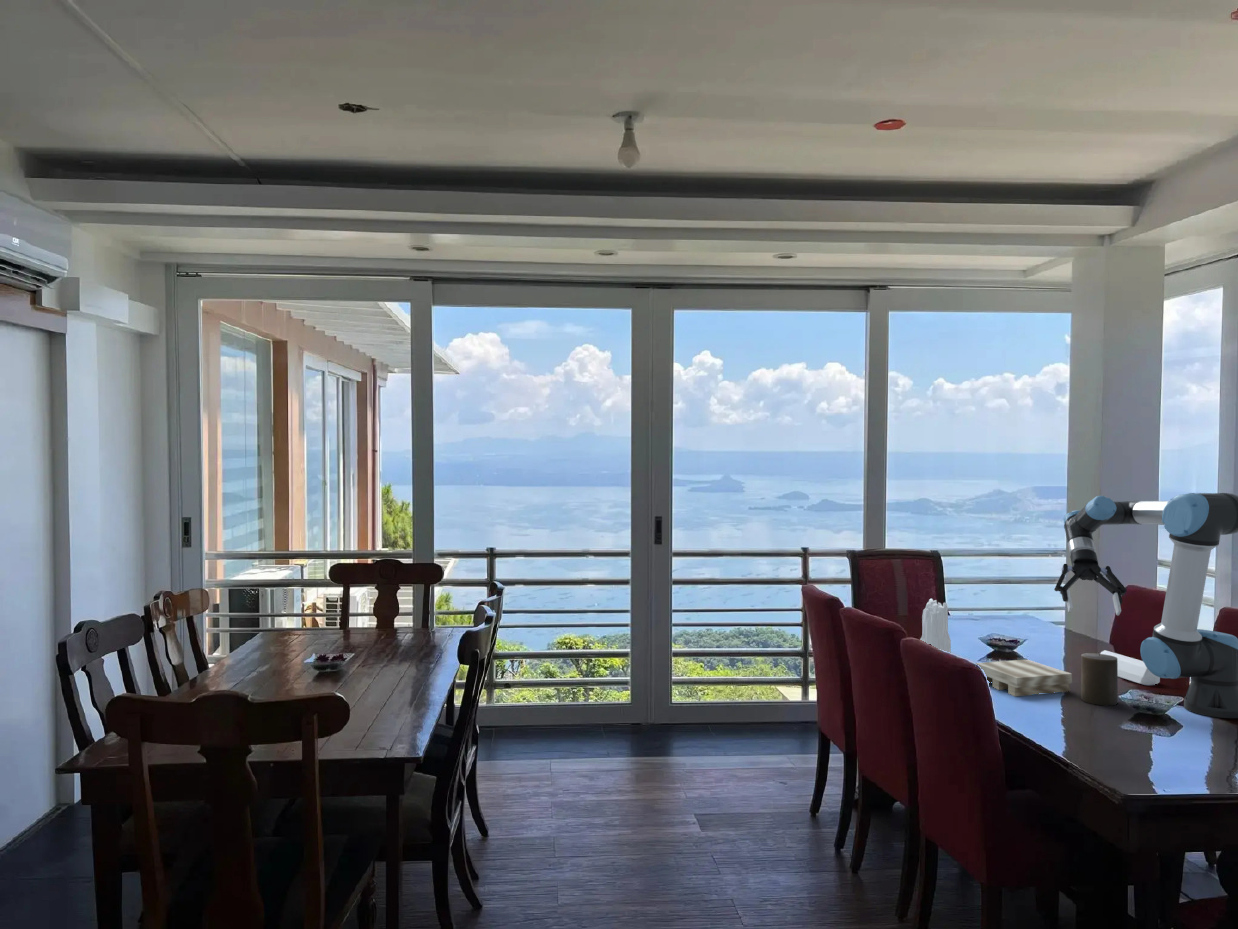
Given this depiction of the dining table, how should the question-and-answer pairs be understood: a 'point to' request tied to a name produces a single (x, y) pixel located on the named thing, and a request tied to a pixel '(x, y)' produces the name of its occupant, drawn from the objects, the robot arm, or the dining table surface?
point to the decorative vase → (936, 625)
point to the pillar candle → (1099, 679)
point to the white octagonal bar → (1133, 669)
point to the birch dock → (1026, 677)
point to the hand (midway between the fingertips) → (1094, 611)
